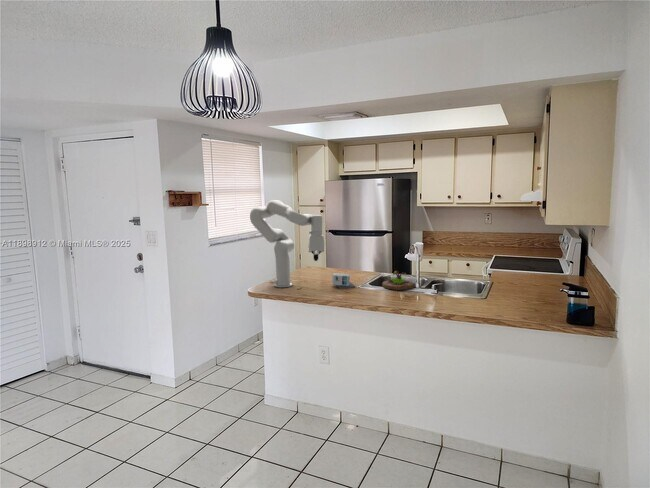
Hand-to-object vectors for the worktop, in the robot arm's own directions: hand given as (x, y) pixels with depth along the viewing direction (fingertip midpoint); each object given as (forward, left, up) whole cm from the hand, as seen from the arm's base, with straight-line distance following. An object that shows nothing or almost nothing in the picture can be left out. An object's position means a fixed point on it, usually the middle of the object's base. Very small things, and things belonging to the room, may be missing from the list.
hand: (315, 260), depth 271 cm
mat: (+19, -1, -18) cm, 26 cm away
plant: (+53, -12, -19) cm, 58 cm away
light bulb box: (+11, -3, -12) cm, 16 cm away
